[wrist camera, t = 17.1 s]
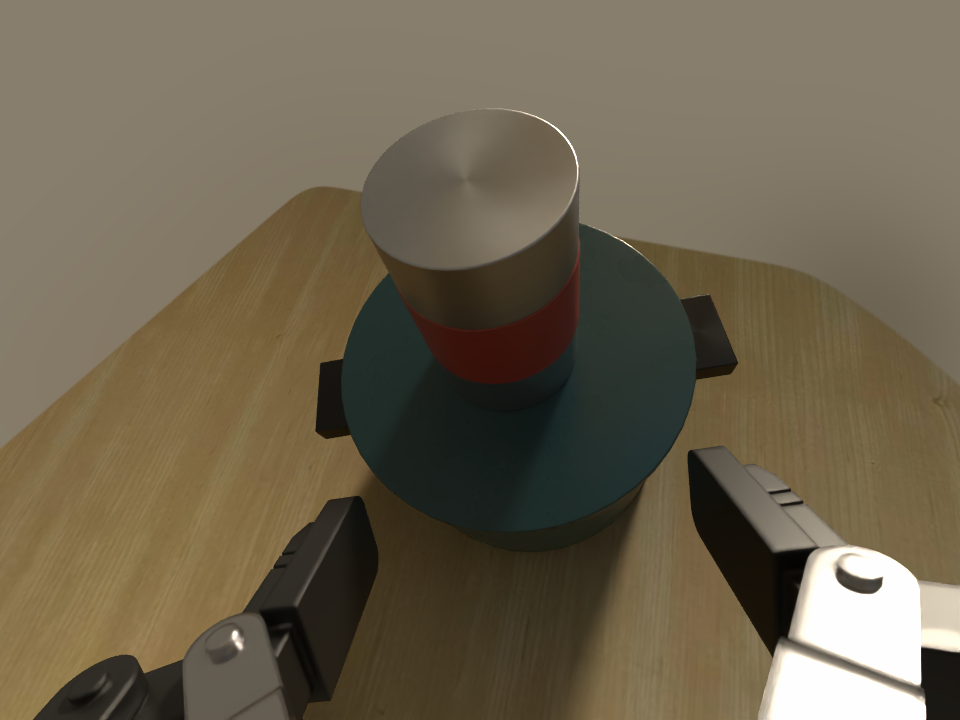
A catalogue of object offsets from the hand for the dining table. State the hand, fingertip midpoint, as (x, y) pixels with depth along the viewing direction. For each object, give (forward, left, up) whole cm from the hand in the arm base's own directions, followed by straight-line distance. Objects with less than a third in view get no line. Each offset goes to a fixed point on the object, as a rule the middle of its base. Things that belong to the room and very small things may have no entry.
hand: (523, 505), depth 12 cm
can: (0, -9, -7) cm, 12 cm away
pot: (0, -9, -17) cm, 20 cm away
